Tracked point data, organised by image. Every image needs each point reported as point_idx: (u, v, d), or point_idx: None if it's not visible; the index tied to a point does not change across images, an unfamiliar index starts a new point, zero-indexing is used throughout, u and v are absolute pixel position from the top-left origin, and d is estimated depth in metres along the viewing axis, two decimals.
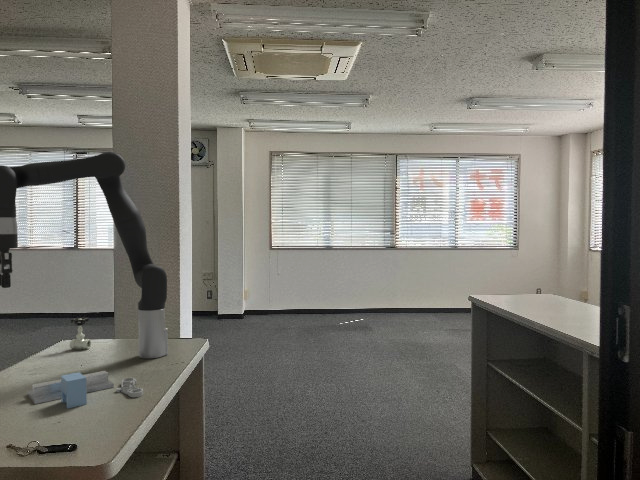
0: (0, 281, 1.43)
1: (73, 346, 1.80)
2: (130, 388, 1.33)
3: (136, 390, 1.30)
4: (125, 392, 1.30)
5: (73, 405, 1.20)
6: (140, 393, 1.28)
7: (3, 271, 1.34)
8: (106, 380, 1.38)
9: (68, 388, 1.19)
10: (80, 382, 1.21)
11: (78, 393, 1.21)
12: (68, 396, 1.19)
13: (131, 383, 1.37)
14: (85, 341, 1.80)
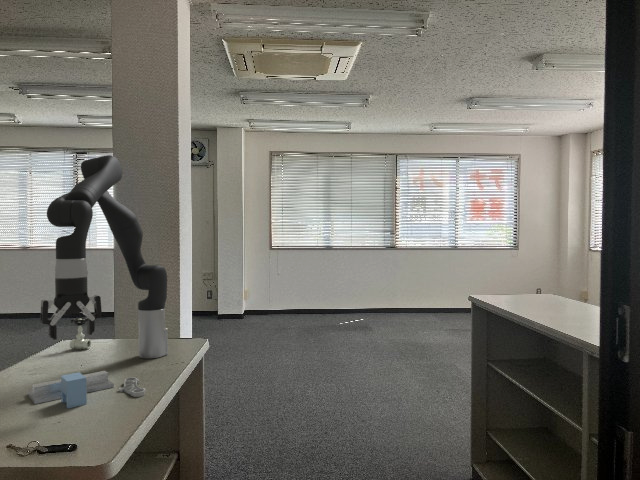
0: None
1: (73, 346, 1.80)
2: (132, 388, 1.33)
3: (138, 390, 1.30)
4: (127, 392, 1.30)
5: (73, 405, 1.20)
6: (142, 393, 1.28)
7: None
8: (106, 380, 1.38)
9: (68, 388, 1.19)
10: (80, 382, 1.21)
11: (78, 393, 1.21)
12: (68, 396, 1.19)
13: (133, 383, 1.37)
14: (85, 341, 1.80)
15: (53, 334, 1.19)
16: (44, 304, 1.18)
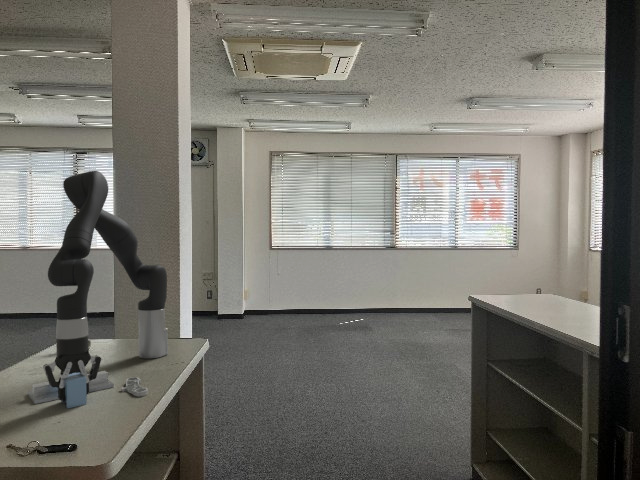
0: None
1: None
2: (135, 387, 1.33)
3: (141, 389, 1.30)
4: (130, 391, 1.30)
5: (73, 405, 1.20)
6: (145, 392, 1.28)
7: None
8: (106, 380, 1.38)
9: (68, 388, 1.19)
10: (80, 382, 1.21)
11: (78, 393, 1.21)
12: (68, 396, 1.19)
13: (135, 382, 1.37)
14: None
15: (62, 396, 1.21)
16: (47, 370, 1.18)
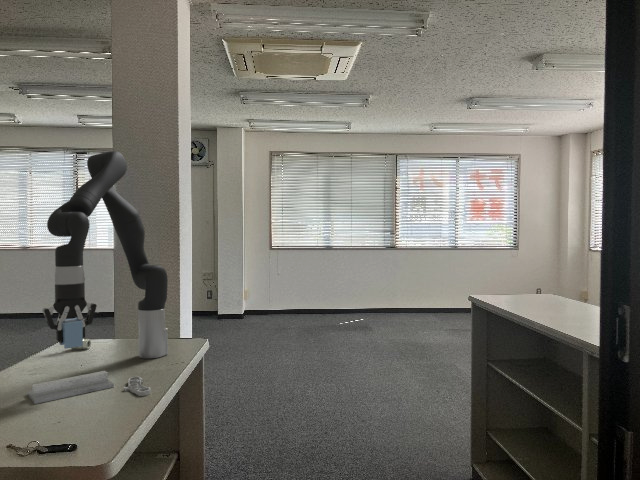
0: None
1: None
2: (137, 387, 1.34)
3: (144, 389, 1.31)
4: (133, 391, 1.31)
5: (70, 346, 1.30)
6: (148, 392, 1.29)
7: None
8: (106, 380, 1.38)
9: (65, 330, 1.29)
10: (77, 325, 1.31)
11: (75, 335, 1.30)
12: (65, 337, 1.29)
13: (138, 382, 1.38)
14: (85, 341, 1.80)
15: (60, 338, 1.30)
16: (46, 312, 1.28)
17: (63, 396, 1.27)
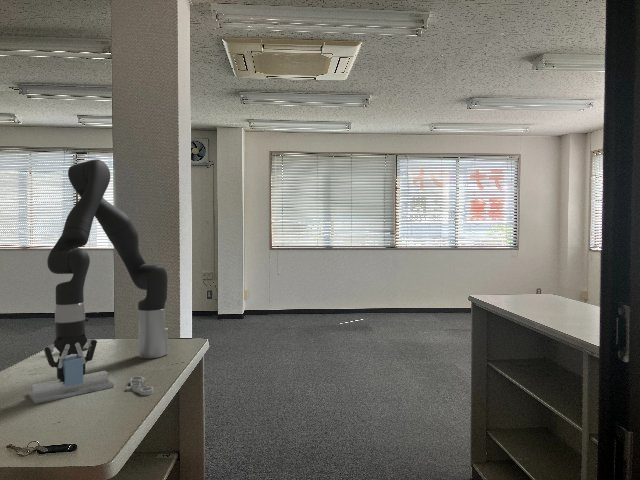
0: None
1: None
2: (140, 386, 1.34)
3: (146, 388, 1.31)
4: (135, 390, 1.31)
5: (71, 384, 1.30)
6: (151, 391, 1.29)
7: None
8: (106, 380, 1.38)
9: (66, 368, 1.29)
10: (77, 362, 1.31)
11: (75, 373, 1.31)
12: (66, 375, 1.29)
13: (140, 381, 1.38)
14: None
15: (60, 376, 1.30)
16: (46, 351, 1.28)
17: (63, 396, 1.27)
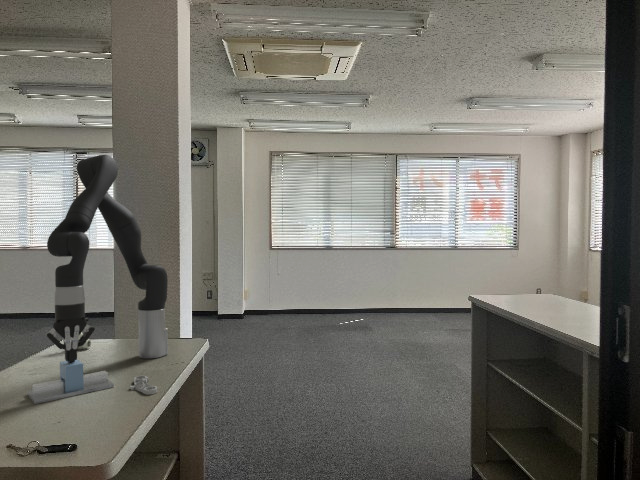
0: None
1: None
2: (143, 386, 1.35)
3: (150, 387, 1.32)
4: (139, 390, 1.32)
5: (71, 389, 1.30)
6: (155, 390, 1.30)
7: None
8: (106, 380, 1.38)
9: (66, 373, 1.29)
10: (78, 367, 1.31)
11: (76, 378, 1.31)
12: (66, 380, 1.29)
13: (143, 381, 1.39)
14: None
15: (68, 358, 1.32)
16: (49, 337, 1.28)
17: (63, 396, 1.27)
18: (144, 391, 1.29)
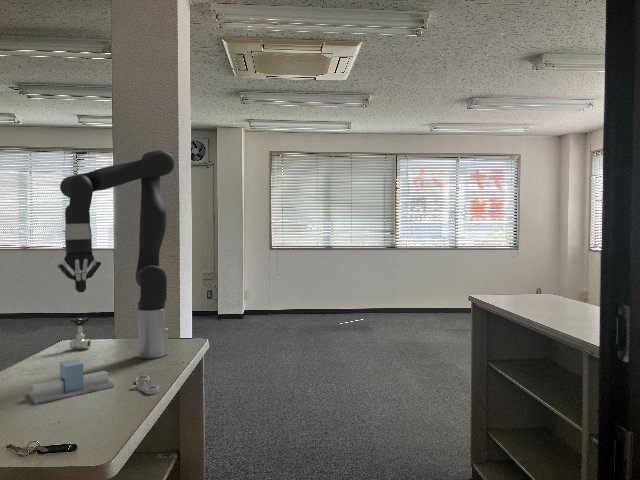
0: None
1: (73, 346, 1.80)
2: (145, 385, 1.35)
3: (152, 387, 1.32)
4: (141, 389, 1.32)
5: (71, 389, 1.30)
6: (156, 390, 1.30)
7: None
8: (106, 380, 1.38)
9: (66, 373, 1.29)
10: (78, 367, 1.31)
11: (76, 378, 1.31)
12: (66, 380, 1.29)
13: (145, 381, 1.39)
14: (85, 341, 1.80)
15: (78, 288, 1.48)
16: (61, 267, 1.44)
17: (63, 396, 1.27)
18: (146, 391, 1.30)
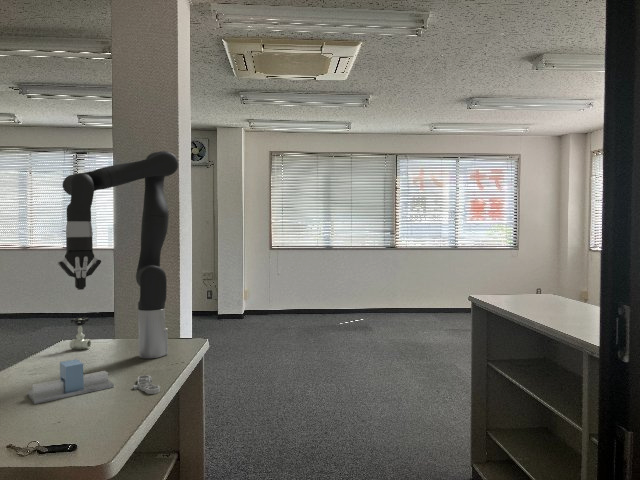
0: None
1: (73, 346, 1.80)
2: (146, 385, 1.35)
3: (153, 387, 1.32)
4: (142, 389, 1.32)
5: (71, 389, 1.30)
6: (157, 390, 1.30)
7: None
8: (106, 380, 1.38)
9: (66, 373, 1.29)
10: (78, 367, 1.31)
11: (76, 378, 1.31)
12: (66, 380, 1.29)
13: (147, 380, 1.39)
14: (85, 341, 1.80)
15: (78, 285, 1.49)
16: (61, 264, 1.45)
17: (63, 396, 1.27)
18: (147, 390, 1.30)
